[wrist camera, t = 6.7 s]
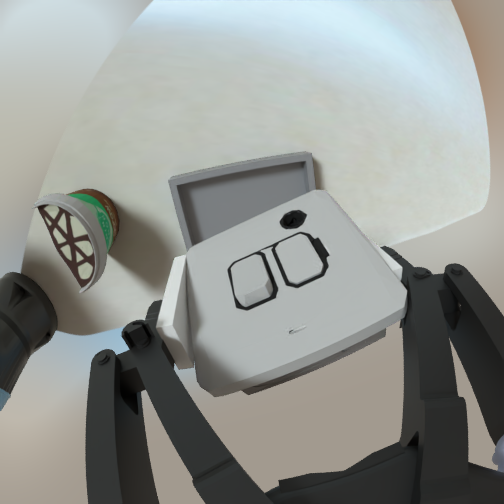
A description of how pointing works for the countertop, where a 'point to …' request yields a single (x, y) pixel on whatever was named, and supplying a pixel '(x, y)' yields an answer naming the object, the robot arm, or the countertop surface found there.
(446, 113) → the countertop surface
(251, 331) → the electrical switch
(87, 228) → the food container
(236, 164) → the back box
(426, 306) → the robot arm
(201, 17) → the countertop surface
